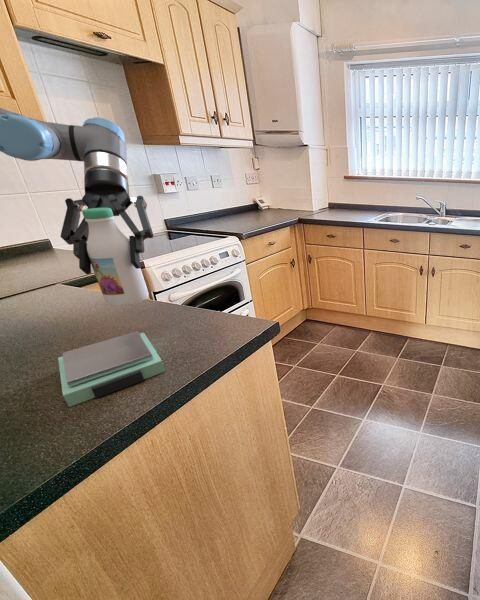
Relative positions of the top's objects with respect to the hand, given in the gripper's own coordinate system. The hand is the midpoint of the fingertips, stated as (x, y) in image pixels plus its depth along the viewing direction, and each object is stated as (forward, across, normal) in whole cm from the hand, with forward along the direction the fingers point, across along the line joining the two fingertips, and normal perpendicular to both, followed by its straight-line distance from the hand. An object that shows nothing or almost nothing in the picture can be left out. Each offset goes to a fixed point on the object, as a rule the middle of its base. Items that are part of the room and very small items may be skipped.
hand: (111, 268), depth 69 cm
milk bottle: (+4, 0, -9) cm, 9 cm away
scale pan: (+18, +2, -3) cm, 18 cm away
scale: (+20, +2, -4) cm, 21 cm away
